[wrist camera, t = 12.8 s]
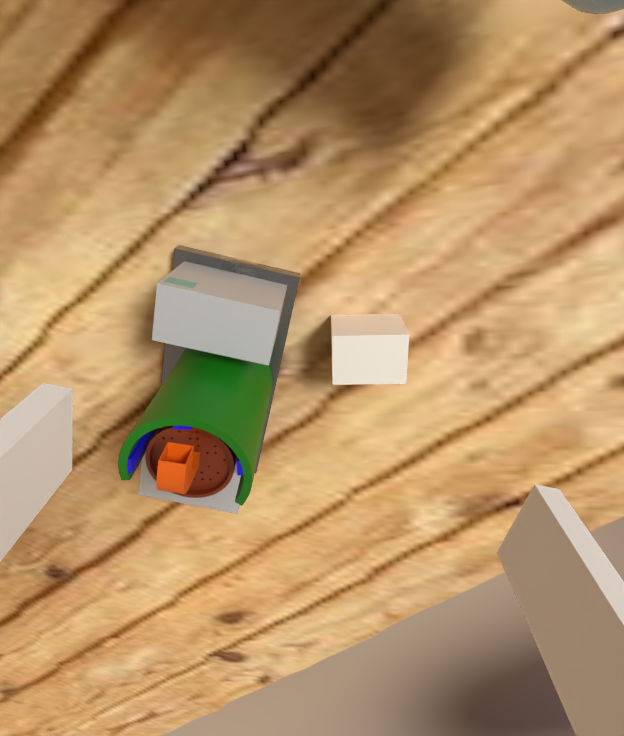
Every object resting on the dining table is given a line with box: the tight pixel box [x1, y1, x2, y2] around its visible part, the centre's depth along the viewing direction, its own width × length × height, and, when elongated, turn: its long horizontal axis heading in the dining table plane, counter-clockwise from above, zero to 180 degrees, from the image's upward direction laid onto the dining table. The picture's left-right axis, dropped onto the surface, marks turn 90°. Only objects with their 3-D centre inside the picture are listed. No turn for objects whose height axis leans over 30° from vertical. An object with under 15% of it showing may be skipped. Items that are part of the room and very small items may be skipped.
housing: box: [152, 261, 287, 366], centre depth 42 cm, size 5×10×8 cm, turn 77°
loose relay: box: [331, 314, 409, 385], centre depth 46 cm, size 5×7×6 cm
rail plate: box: [161, 245, 300, 473], centre depth 50 cm, size 24×12×2 cm, turn 167°
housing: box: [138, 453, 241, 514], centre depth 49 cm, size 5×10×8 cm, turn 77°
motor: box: [118, 348, 273, 506], centre depth 40 cm, size 10×9×20 cm
